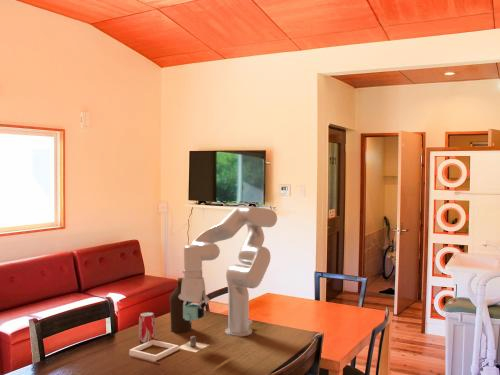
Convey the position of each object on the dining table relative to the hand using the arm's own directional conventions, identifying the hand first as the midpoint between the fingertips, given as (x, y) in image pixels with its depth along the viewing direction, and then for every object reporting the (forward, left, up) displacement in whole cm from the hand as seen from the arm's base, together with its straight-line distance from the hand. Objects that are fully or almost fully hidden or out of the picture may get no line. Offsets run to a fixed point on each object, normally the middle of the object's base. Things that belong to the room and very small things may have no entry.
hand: (194, 315), depth 203 cm
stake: (+1, 0, -14) cm, 14 cm away
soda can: (+4, -23, -14) cm, 27 cm away
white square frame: (+14, -10, -14) cm, 22 cm away
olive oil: (-14, -18, -14) cm, 27 cm away
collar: (0, 0, -1) cm, 1 cm away
